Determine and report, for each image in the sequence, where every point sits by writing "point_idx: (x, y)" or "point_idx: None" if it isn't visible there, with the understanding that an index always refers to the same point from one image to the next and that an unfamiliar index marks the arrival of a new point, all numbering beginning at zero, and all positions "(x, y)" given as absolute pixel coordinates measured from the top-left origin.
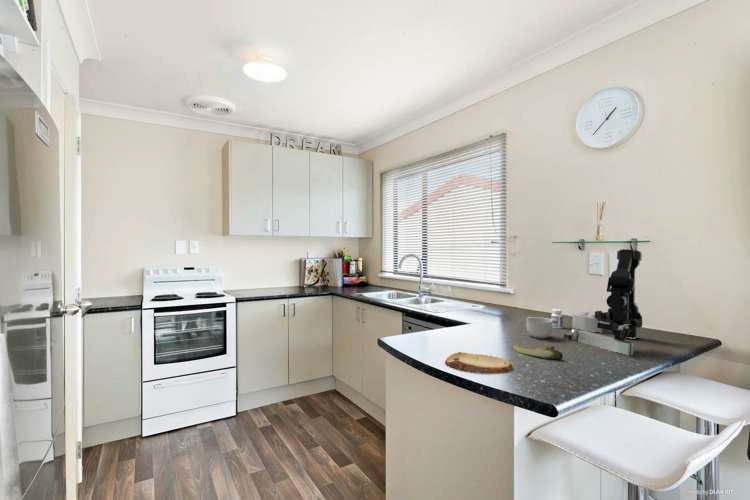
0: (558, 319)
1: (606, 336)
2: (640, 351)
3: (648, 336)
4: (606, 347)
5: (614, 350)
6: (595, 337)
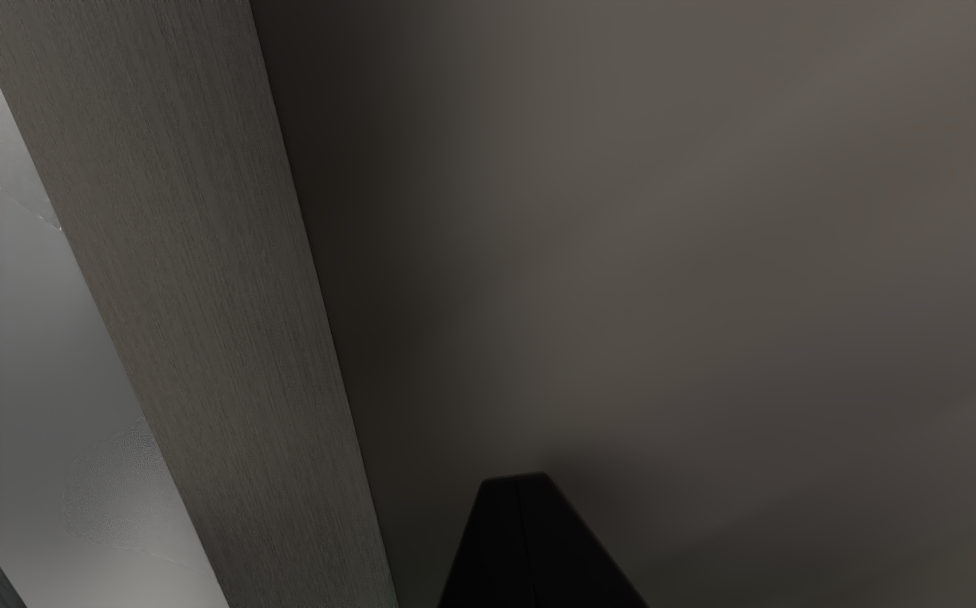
0: None
1: (109, 482)
2: (926, 559)
3: None
4: None
5: None
6: None
